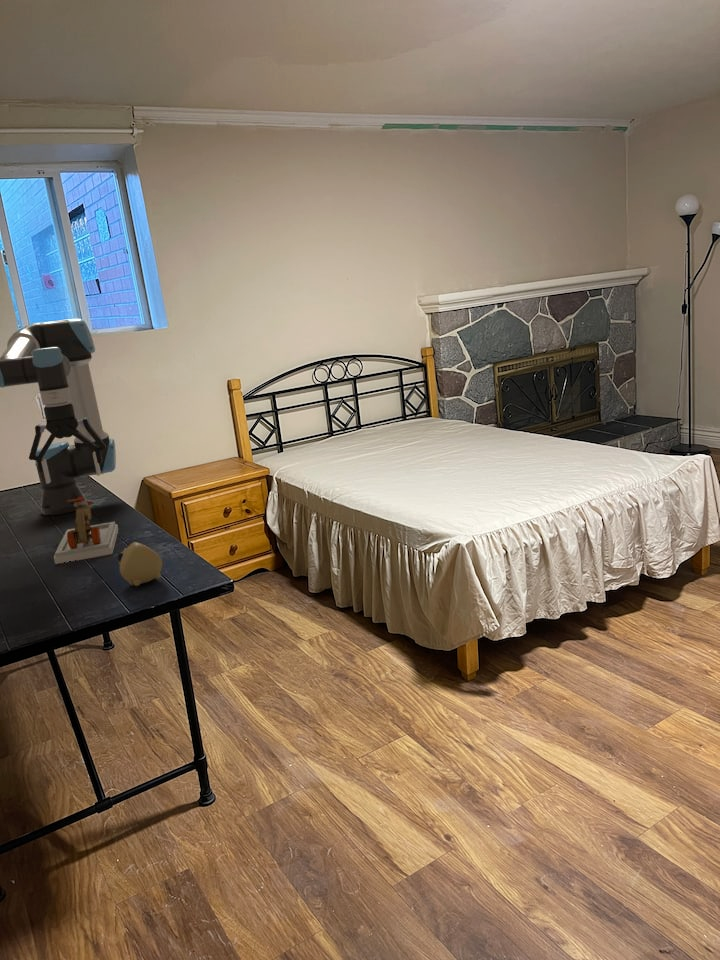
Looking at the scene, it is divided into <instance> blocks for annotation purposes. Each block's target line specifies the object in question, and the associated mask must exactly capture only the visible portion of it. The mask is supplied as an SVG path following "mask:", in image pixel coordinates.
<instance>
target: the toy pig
mask: <svg viewBox="0 0 720 960" xmlns="http://www.w3.org/2000/svg"><path fill="white" fill-rule="evenodd" d="M116 559H117V560H118V564H119V573H120V575H121V577H122V578H123V579H124V580H125V581H127V582H128V583H129V586H136V587H139V586H140V585H141V584H142V585H143V584H146V583H149V582H151V581H153V580H154V579H157V580H158V579H160V578H161V577H162V574H161V571H162V568H163V559H162V557H161V555H159V554H158V553H157V552H156V551H155V550H153V549H152V548H150V547H148V546H147V545H145V544H143V543H140V542H137V541H133V542H132V543H130V544H129V545H128V547H125V548H123V551H121V552H119V553H118V554H117V558H116Z"/></svg>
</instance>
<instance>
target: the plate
mask: <svg viewBox="0 0 720 960" xmlns="http://www.w3.org/2000/svg"><path fill="white" fill-rule="evenodd" d="M90 526H91V528H92V527H98V528H99V532H100V538H101V542H100V543H98V544H94V543H93V541H92V538H91V539H90V540H89V541H88V542H85V543H79V544H77V547H76V548H70V547H69V544H68V539H67V532H69V531H75V528H76V527H75V528H69V529H66V531H65V533H64V535H63V537H62V539H61V540H60V542H59V544H58V546H57V548H56V550H55V552H54V556H53V562H54V564H55V565H58V564H59V563H60V564H65V563H70V562H69V561H71V562H76V561H81V560H86V559H92V558H97V557H98V558H99V557H105V556H108V555H112V554H114V553H113V552H114V548H115V545H116V542H117V539H118V538H117V537H118V535H117V534H119V531H118V530H119V527H118V524H116V521H110V522H105V523H104V522H103V523H99V524H92V525H90ZM90 534H91V531H90ZM75 560H76V561H75ZM64 562H65V563H64Z"/></svg>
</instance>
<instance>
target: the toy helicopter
mask: <svg viewBox="0 0 720 960" xmlns="http://www.w3.org/2000/svg"><path fill="white" fill-rule="evenodd" d="M67 502H74V507H79V508H77V509H76V511H75V521H74V522H75V525H76V527H75V531H69V532H67V539H68V544H69V547H70V548H76V547H77V544H79V543H85V542H88V541H89V540H90V539H91V538H92V541H93V543H94V544H98V543H100V542H101V538H100V532H99V528H98V527H92V528H91V526H92V525H90V520H92V511H91V505H93V504H95V502H94V501H90V500H86V501H85V499H84V498H83V497H78V498H77V499H71V500H67ZM90 531H91V534H90Z"/></svg>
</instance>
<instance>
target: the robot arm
mask: <svg viewBox="0 0 720 960" xmlns="http://www.w3.org/2000/svg"><path fill="white" fill-rule="evenodd" d="M95 351H96V347H95V344H94V341H93V336H92V334H91V331H90V328H89V326H88V325H87V323H86V321H85V320H83V319H81V318H67V319H66V318H65V319H60V320H59V319H58V320H51V321H45V322H44V321H43V322H41V321H40V322H33V323H31V324H28V325H26V326H24V327H22V328H20V329H18V330H17V331H15V332H14V333H13V334H12V335H11V336H10V337H9V339H8V341H7V343H6V349H5V350H4V352H3V353H2V354H1V356H0V388H2V389H3V388H6V387H14V386H21V385H27V384H36V383H37V384H38V388H39V389H38V390H39V393H40V394H39V395H40V398H41V403H42V405H43V406H44V407H43V412H44V416H45V421H46V422H45V423H46V424H39V423H38V424H37V425H35V426H34V429H35V430H34V432H35V435H34V438H33V441H32V445H31V448H30V453H29V456H28V459H29V461H35V466H36V470H37V475H38V478H39V479H38V480H39V483H40V486H41V491H42V492H41V501H40V511H41V514H42V515H44V516H56V515H57V516H58V515H62V514H68V513H72V512H76V509H77V508H79V507H74V502H67V500H71V499H77V498H78V497H83V498H84V499H85V501H87V498H86V496H85V495H84V492H82V491H81V489H80V487H79V485H78V482H77V478H84V477H88V476H89V477H90V476H95V475H96V476H98V477H99V476H101V475H104V474H107V473H112V472H114V471H115V470H116V463H117V461H116V460H117V459H116V456H117V455H116V444H115V440H114V439H113V438H110V436H109V433H108V432H106V431H104V430H103V425H102V420H101V416H100V410H99V407H98V402H97V398H96V392H95V388H94V384H93V383H94V382H93V379H92V374H91V373H92V372H91V370H90V366H89V362H90V361H91V360H92V359H93V357H92V354H93V353H95ZM45 430H47V432H49V433H50V435H49V437H48V438H47V441H46V442H45V444H44V445H43V447H40V448H39V445H40V441H41V438H42V435H43V434H44V432H45ZM71 437H75V438H74V439H73V444H70V443H69V442H68V441H66V440H65V441H60V442H55V443H53V442H54V440H55V438H56V439H58V440H60V439H63V438H71Z"/></svg>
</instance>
